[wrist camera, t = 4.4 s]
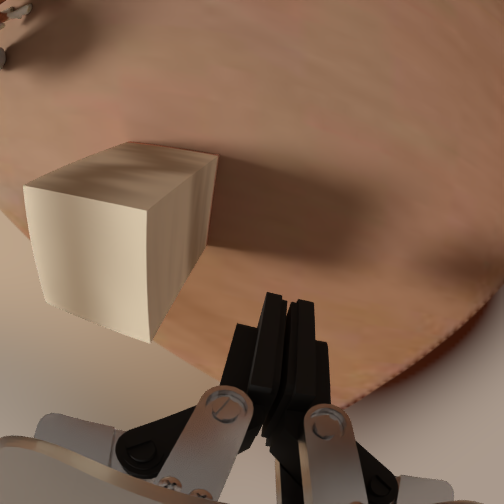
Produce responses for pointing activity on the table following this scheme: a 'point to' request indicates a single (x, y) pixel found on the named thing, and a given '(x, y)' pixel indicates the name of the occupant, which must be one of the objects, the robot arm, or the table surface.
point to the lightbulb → (2, 57)
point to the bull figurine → (13, 13)
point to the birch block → (121, 232)
